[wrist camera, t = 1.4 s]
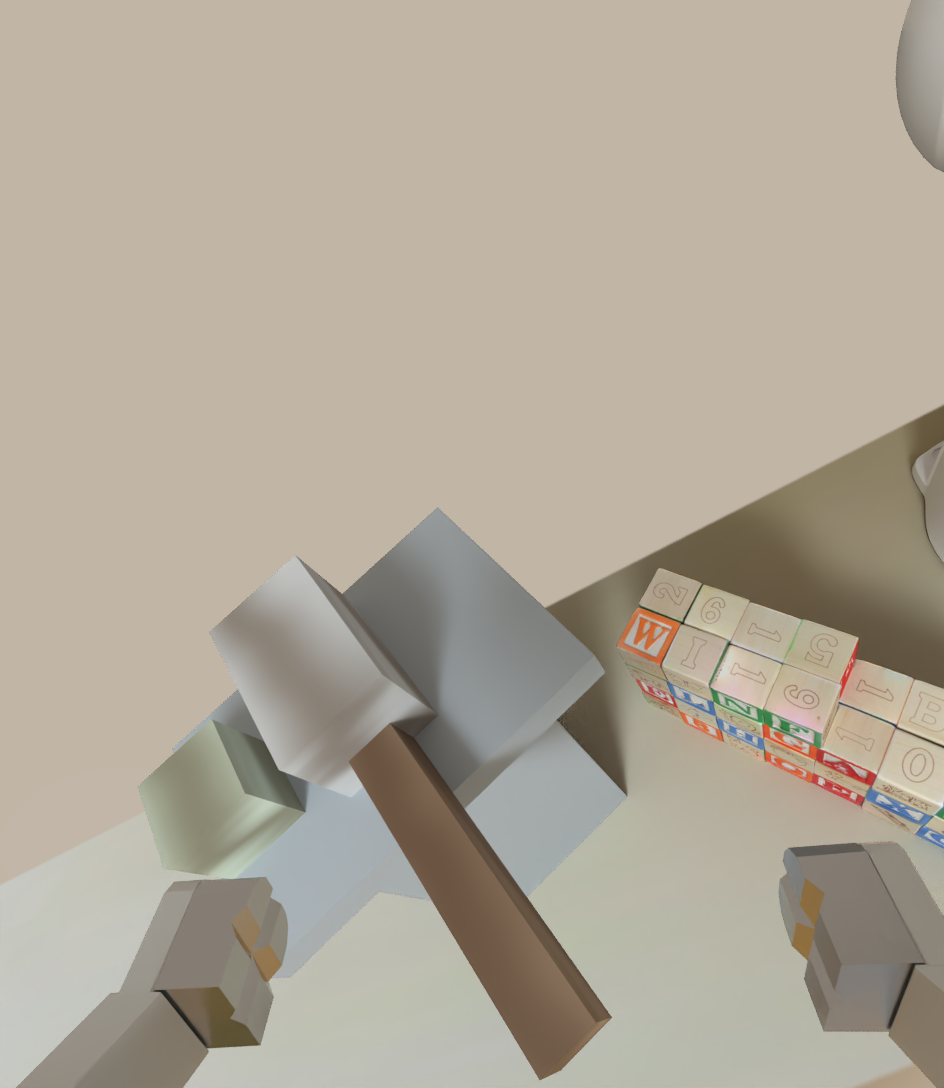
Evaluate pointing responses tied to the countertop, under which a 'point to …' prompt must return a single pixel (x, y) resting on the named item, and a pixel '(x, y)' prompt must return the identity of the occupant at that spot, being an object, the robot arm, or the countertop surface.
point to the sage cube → (218, 803)
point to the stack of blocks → (792, 698)
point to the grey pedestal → (447, 736)
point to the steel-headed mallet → (400, 793)
